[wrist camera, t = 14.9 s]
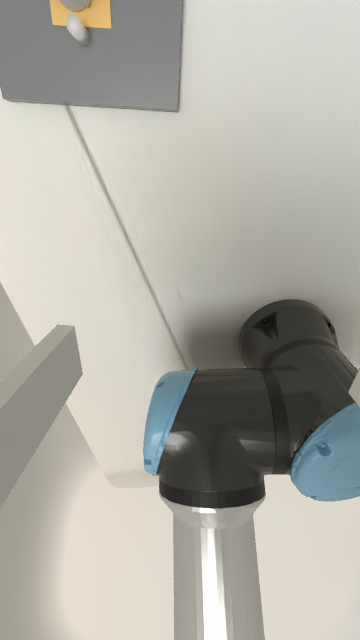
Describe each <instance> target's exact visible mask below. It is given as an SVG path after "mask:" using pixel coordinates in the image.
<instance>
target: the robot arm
mask: <svg viewBox="0 0 360 640" xmlns="http://www.w3.org/2000/svg"><path fill="white" fill-rule="evenodd" d="M239 348H240V352H241V356H242V359H243V361H244V363H245V365H246V366H247V367H248V368H237V369H208V370H198V368H194V369H192V370H185V371H173V372H168V373H166V374H164V375H163V376H162V377H161V378H160V379H159V381H158V383H157V384H156V387H155V389H154V392H153V395H152V398H151V402H150V406H149V410H148V415H147V421H146V427H145V435H144V447H143V454H144V467H145V470H146V471H147V472H148V473H150V474H152V475H153V476H157V475H159V494H160V497H161V499H162V500H163V501H164V502H165V503H166V505H167V506H168V507H169V508H170V509H171V510H172V512H173V535H174V536H173V537H174V539H173V540H174V541H173V542H174V543H173V544H174V640H265V638H264V627H263V617H262V606H261V596H260V585H259V574H258V564H257V554H256V543H255V532H254V523H253V522H254V521H253V513H254V512H255V511H256V509H257V508H258V507H259V506H260V504H261V503H262V502H263V501H264V499H265V496H266V494H265V485H264V475H267V474H288V475H290V477H291V480H292V482H293V483H294V485H295V486H296V487H297V489H298V490H299V491H300V492H301V493H302V494H303V495H305V496H306V497H311V498H313V499H314V500H318V501H340V500H346V499H351V498H355V497H358V496H360V369H359V371H358V370H357V369H356V368H355V367H354V366H353V365H352V364H351V362H350V361H349V360H348V359H347V358H346V357H345V356H344V355H343V354H342V352H341V351H340V350H339V346H338V342H337V338H336V335H335V330H334V327H333V325H332V323H331V321H330V320H329V319H328V318H327V316H326V315H325V314H324V313H323V312H322V311H321V310H320V309H318V308H317V307H316V306H314V305H312V304H310V303H307V302H304V301H299V300H284V301H279V302H275V303H272V304H269V305H267V306H265V307H263V308H261V309H260V310H258V311H257V312H255V313H254V314H253V315H252V316H251V317H250V318H249V319H248V320H247V322H246V323H245V325H244V326H243V328H242V330H241V333H240V337H239ZM82 374H83V373H82V367H81V361H80V356H79V350H78V344H77V338H76V333H75V327H74V326H68V325H57V326H56V327H55V328H54V329H53V330H52V331H51V332H50V333H49V334H48V335H47V336H46V337H45V338H44V339H43V340H42V341H41V342H40V343H39V344H37V345H36V346H35V347H34V348H33V349H32V350H31V351H30V352H29V353H28V355H27V356H25V357H24V358H23V359H22V360H21V361H20V362H19V363H18V364H17V365H16V366H15V367H14V368H13V369H12V370H11V371H10V372H9V373H8V374H7V375H6V376H5V377H4V378H3V379H2V380H1V381H0V508H1V506H2V505H3V503H4V501H5V500H6V498H7V497H8V495H9V493H10V492H11V490H12V488H13V487H14V485H15V484H16V482H17V480H18V478H19V477H20V475H21V474H22V472H23V471H24V469H25V467H26V466H27V464H28V462H29V461H30V459H31V457H32V456H33V454H34V452H35V451H36V449H37V448H38V446H39V444H40V443H41V441H42V440H43V438H44V436H45V435H46V433H47V431H48V429H49V428H50V426H51V425H52V423H53V422H54V420H55V418H56V417H57V415H58V413H59V412H60V410H61V409H62V407H63V405H64V404H65V402H66V400H67V399H68V397H69V395H70V394H71V392H72V391H73V389H74V387H75V386H76V384H77V382H78V381H79V379H80V378H81V376H82Z"/></svg>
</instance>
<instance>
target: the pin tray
mask: <svg viewBox="0 0 360 640" xmlns="http://www.w3.org/2000/svg"><path fill="white" fill-rule="evenodd" d="M182 7H183V0H90V2H89V6H88V7H85V8H84V9H83V10H81V11H71V10H69V9H67V8H66V7H64V6H63V5H62V4H61V2H60V1H59V0H0V87H1V92H2V97H3V99H6V100H8V101H13V102H28V103H44V104H60V105H75V106H91V107H107V108H122V109H138V110H154V111H169V112H178V99H179V76H180V53H181V30H182Z"/></svg>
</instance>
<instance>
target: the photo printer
mask: <svg viewBox="0 0 360 640" xmlns="http://www.w3.org/2000/svg"><path fill="white" fill-rule="evenodd" d="M59 1H60V2H61V4H62V5H63V6H64V7H66V8H67V9H69V10H71V11H81V10H83V9H84V8H85V7H88V6H89V2H90V0H59Z"/></svg>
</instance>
